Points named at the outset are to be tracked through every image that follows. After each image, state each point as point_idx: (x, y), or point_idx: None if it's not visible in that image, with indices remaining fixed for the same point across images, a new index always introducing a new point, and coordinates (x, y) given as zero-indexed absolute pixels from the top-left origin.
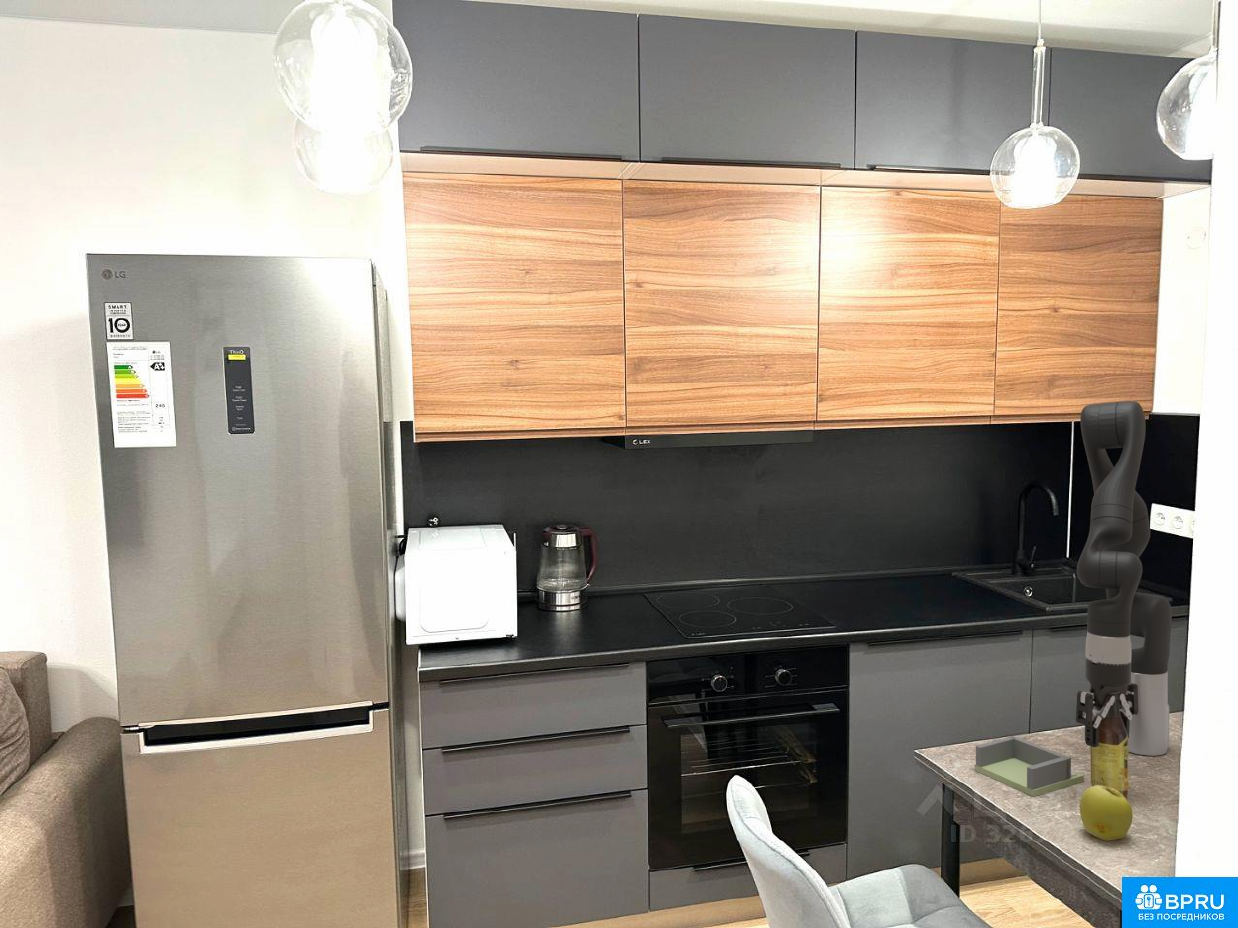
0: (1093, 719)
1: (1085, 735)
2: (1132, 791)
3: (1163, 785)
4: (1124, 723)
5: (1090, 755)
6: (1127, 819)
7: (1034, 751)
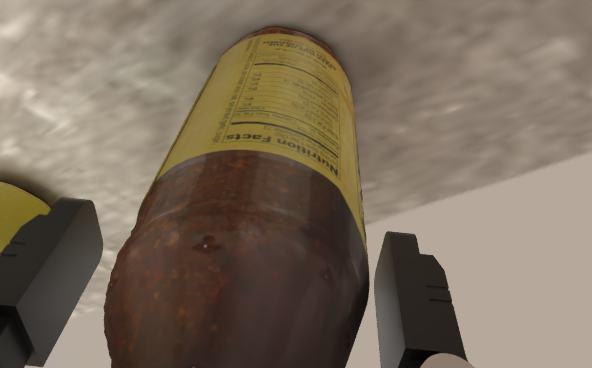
0: (150, 292)
1: (3, 255)
2: (384, 122)
3: (535, 159)
4: (386, 364)
5: (204, 105)
6: None
7: None
